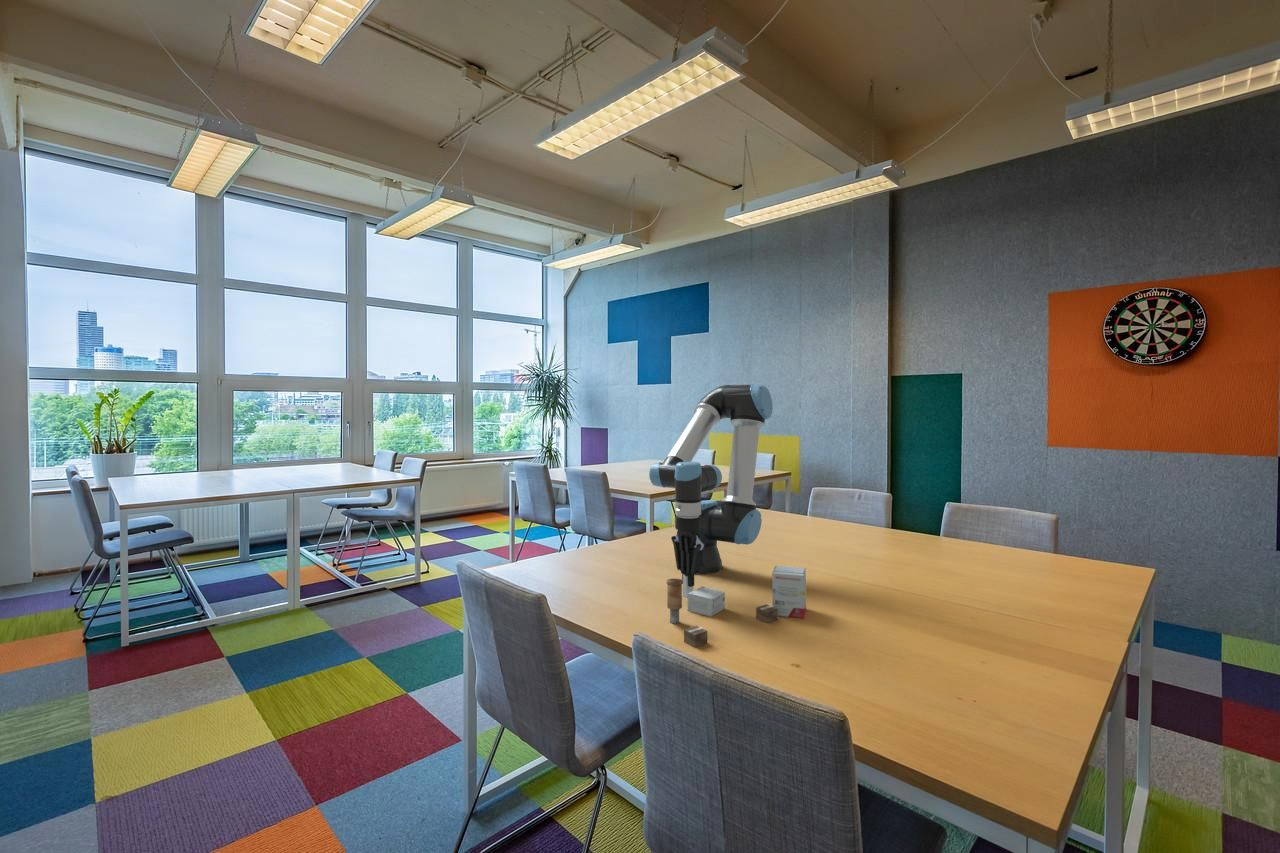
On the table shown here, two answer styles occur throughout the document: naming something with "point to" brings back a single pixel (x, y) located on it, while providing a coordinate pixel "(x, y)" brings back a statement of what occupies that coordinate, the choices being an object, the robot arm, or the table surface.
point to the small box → (706, 601)
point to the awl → (674, 598)
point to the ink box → (789, 591)
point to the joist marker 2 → (766, 613)
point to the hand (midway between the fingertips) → (688, 596)
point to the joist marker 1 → (695, 636)
